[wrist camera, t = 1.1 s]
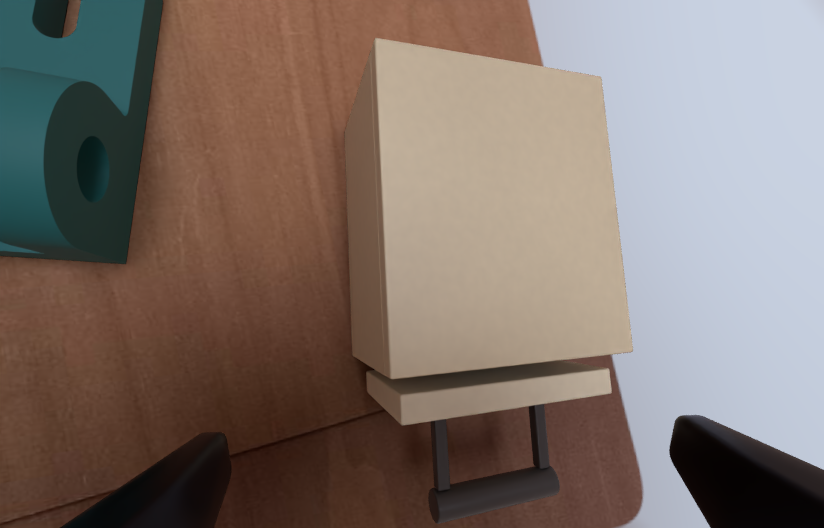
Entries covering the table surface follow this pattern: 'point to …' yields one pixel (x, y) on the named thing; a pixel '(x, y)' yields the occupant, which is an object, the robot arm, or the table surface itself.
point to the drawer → (483, 395)
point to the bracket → (73, 125)
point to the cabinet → (479, 215)
